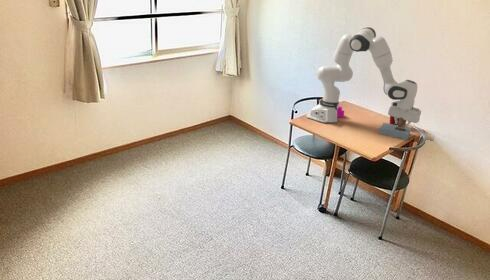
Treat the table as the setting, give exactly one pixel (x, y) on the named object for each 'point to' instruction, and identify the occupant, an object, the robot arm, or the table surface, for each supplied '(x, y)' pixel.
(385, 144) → the table surface
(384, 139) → the table surface
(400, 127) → the walnut peg
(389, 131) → the socket board
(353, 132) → the table surface
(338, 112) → the toy block
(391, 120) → the plastic cup
